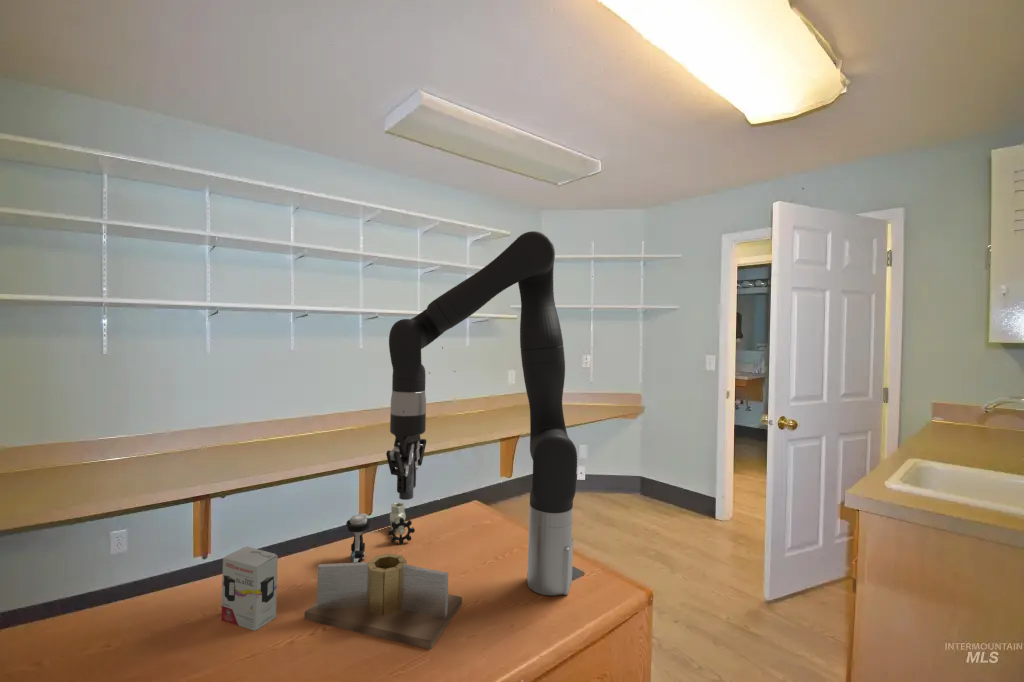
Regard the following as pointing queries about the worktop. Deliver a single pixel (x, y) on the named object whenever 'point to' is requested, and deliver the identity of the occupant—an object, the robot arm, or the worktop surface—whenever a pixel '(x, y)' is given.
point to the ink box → (249, 588)
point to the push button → (358, 536)
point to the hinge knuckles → (383, 586)
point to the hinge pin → (409, 481)
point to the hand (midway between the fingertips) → (406, 489)
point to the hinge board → (388, 622)
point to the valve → (399, 523)
